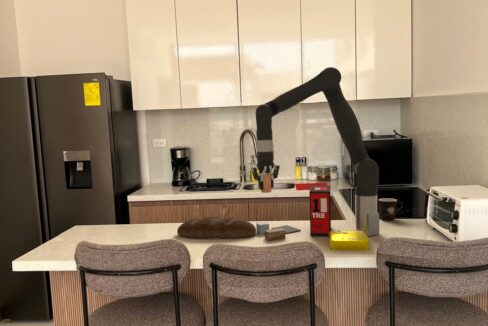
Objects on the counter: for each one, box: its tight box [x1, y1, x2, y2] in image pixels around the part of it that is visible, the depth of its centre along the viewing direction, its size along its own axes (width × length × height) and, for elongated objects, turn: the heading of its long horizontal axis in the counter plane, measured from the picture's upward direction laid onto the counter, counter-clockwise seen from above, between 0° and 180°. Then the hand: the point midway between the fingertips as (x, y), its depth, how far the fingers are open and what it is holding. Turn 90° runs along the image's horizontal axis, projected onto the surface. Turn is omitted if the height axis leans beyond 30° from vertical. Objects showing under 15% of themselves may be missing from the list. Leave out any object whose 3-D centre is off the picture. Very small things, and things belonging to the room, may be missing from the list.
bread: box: [176, 216, 257, 240], centre depth 189 cm, size 16×36×8 cm, turn 82°
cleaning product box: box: [308, 185, 332, 238], centre depth 187 cm, size 16×9×20 cm, turn 168°
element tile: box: [328, 229, 370, 252], centre depth 167 cm, size 15×15×5 cm
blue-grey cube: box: [255, 221, 270, 235], centre depth 190 cm, size 4×4×4 cm
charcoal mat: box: [270, 224, 302, 235], centre depth 193 cm, size 11×9×1 cm
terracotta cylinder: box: [260, 173, 272, 194], centre depth 183 cm, size 4×4×8 cm
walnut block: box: [264, 228, 286, 242], centre depth 180 cm, size 4×8×4 cm, turn 116°
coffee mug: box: [378, 197, 404, 222], centre depth 206 cm, size 12×9×10 cm
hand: (266, 188), depth 183 cm, fingers closed on terracotta cylinder, 4 cm apart
